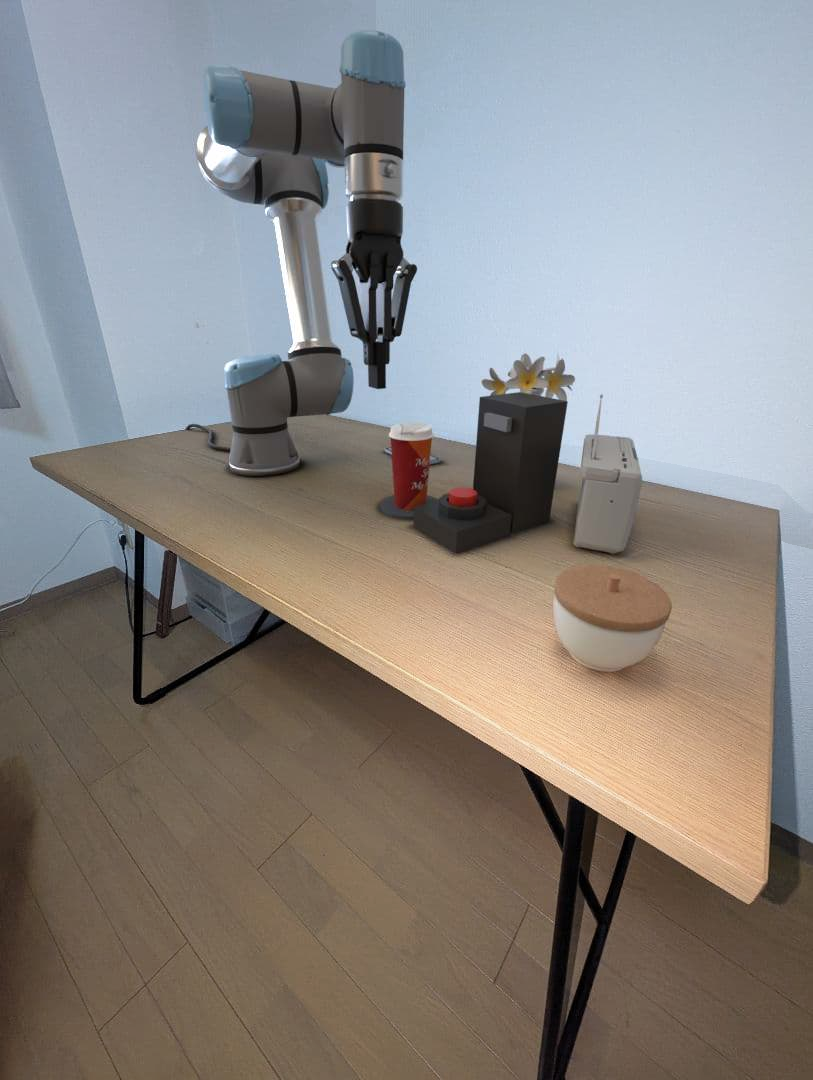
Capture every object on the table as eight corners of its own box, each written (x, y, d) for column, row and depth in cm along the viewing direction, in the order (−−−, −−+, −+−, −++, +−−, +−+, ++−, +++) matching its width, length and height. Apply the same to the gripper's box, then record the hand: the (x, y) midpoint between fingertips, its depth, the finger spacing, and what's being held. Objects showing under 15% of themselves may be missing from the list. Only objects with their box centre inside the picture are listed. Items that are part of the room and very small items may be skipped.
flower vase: (465, 484, 97) (474, 354, 85) (524, 468, 107) (538, 349, 96) (514, 503, 87) (531, 360, 76) (573, 483, 98) (596, 354, 86)
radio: (625, 559, 68) (659, 421, 59) (566, 550, 71) (590, 416, 62) (620, 508, 86) (645, 395, 77) (573, 502, 88) (592, 392, 79)
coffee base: (413, 527, 78) (414, 496, 75) (464, 513, 83) (466, 483, 81) (455, 553, 70) (457, 519, 67) (509, 536, 75) (513, 504, 73)
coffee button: (442, 501, 75) (443, 490, 74) (464, 495, 77) (464, 485, 76) (460, 510, 71) (461, 499, 71) (482, 504, 74) (483, 493, 73)
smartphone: (415, 464, 106) (382, 448, 117) (415, 468, 106) (383, 451, 118) (442, 459, 110) (407, 444, 121) (442, 462, 110) (407, 447, 121)
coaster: (369, 503, 87) (369, 500, 87) (418, 492, 92) (418, 489, 92) (401, 524, 79) (402, 521, 78) (453, 510, 84) (453, 507, 84)
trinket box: (539, 672, 47) (553, 593, 43) (550, 613, 56) (562, 543, 52) (657, 701, 44) (684, 618, 40) (648, 634, 53) (670, 561, 49)
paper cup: (428, 514, 81) (430, 433, 75) (384, 510, 83) (383, 431, 76) (434, 498, 88) (437, 423, 82) (394, 495, 89) (394, 420, 83)
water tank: (466, 514, 83) (474, 397, 74) (507, 502, 88) (519, 391, 79) (507, 534, 75) (521, 407, 67) (549, 521, 80) (568, 401, 72)
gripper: (344, 190, 56) (351, 395, 67) (431, 203, 62) (425, 387, 73) (316, 199, 61) (328, 387, 72) (399, 210, 68) (398, 380, 79)
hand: (377, 387), depth 73 cm, fingers closed
